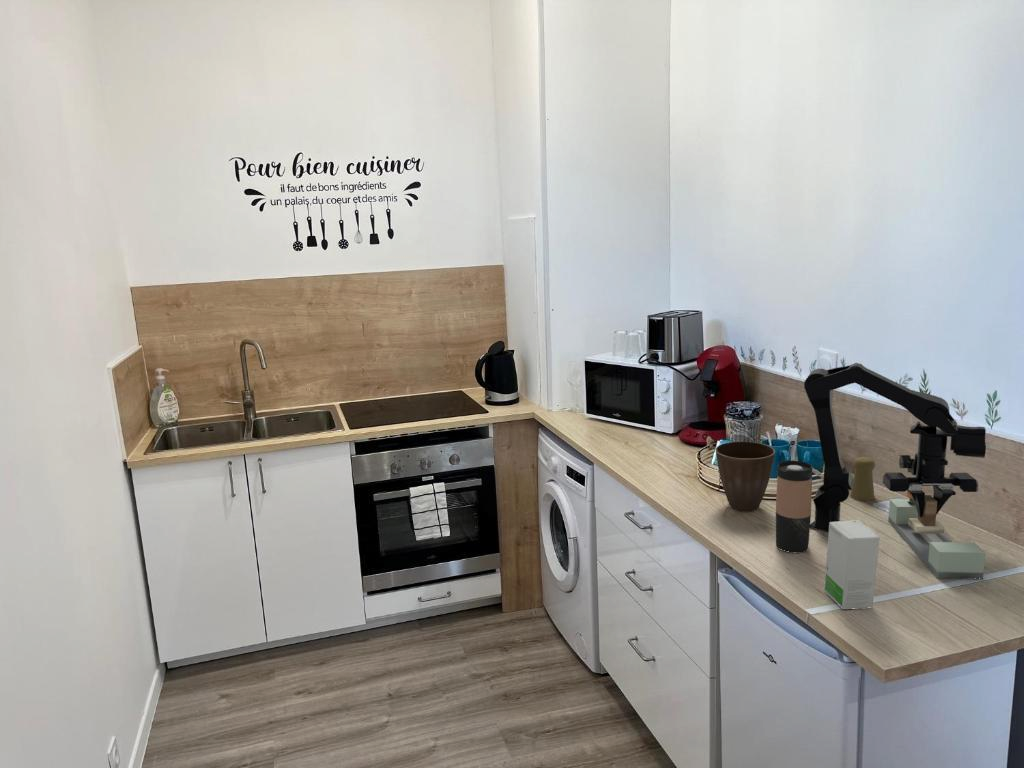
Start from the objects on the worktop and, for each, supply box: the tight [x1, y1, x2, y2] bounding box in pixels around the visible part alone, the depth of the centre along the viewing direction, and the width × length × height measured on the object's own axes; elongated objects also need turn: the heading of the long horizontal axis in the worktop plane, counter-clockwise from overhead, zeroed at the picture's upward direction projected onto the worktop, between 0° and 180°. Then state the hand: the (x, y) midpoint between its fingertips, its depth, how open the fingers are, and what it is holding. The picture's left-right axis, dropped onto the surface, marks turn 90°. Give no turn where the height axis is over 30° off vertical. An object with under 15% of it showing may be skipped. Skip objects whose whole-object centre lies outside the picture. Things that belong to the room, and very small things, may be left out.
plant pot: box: [715, 441, 776, 513], centre depth 201 cm, size 15×15×16 cm
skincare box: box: [823, 519, 881, 609], centre depth 152 cm, size 8×7×16 cm
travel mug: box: [775, 460, 813, 553], centre depth 176 cm, size 8×8×20 cm
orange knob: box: [905, 491, 915, 505], centre depth 184 cm, size 3×3×4 cm
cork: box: [849, 456, 876, 502], centre depth 205 cm, size 6×6×11 cm
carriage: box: [908, 494, 945, 534], centre depth 176 cm, size 5×6×8 cm
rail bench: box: [887, 498, 986, 580], centre depth 173 cm, size 30×9×6 cm, turn 172°
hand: (926, 516), depth 176 cm, fingers closed on carriage, 2 cm apart
